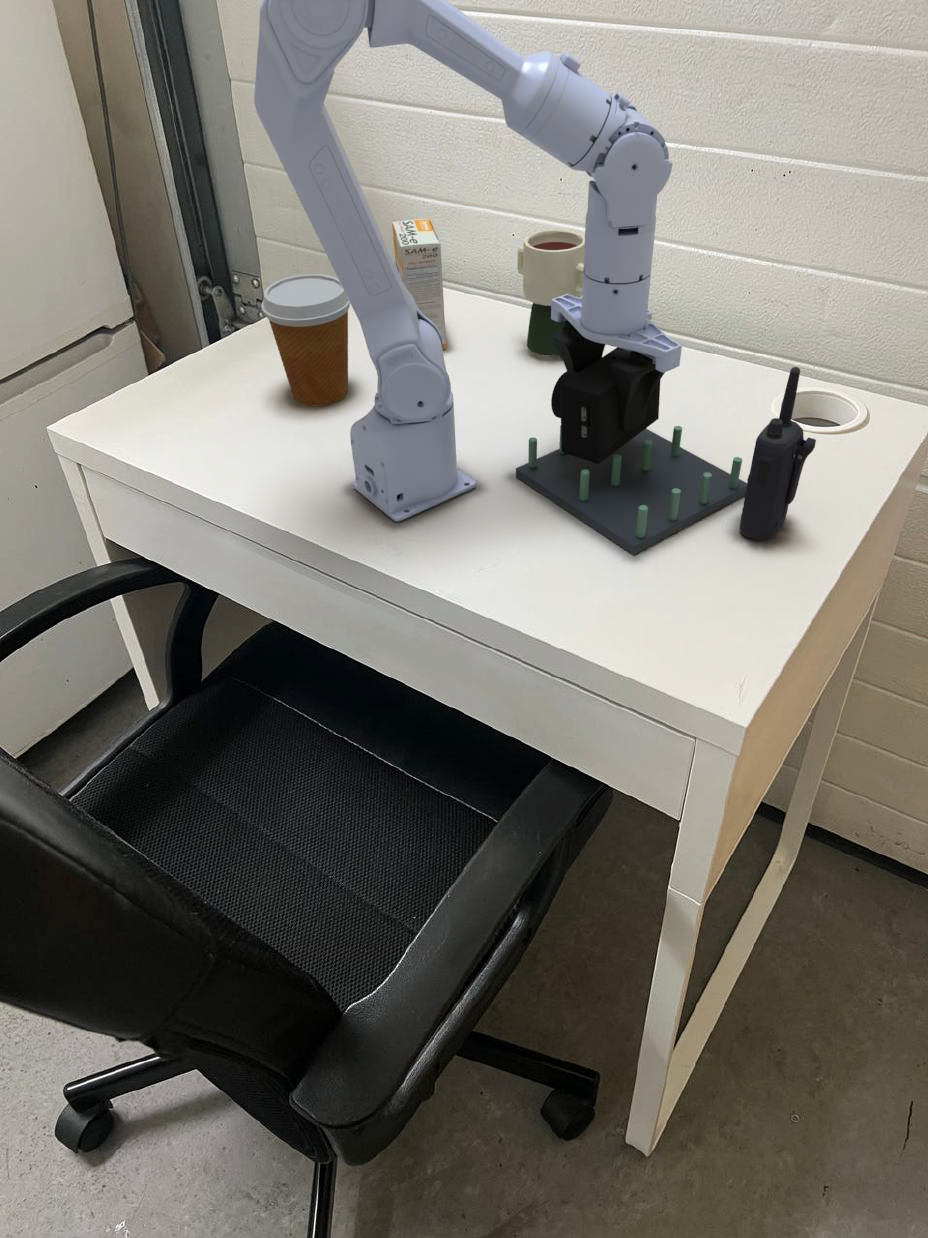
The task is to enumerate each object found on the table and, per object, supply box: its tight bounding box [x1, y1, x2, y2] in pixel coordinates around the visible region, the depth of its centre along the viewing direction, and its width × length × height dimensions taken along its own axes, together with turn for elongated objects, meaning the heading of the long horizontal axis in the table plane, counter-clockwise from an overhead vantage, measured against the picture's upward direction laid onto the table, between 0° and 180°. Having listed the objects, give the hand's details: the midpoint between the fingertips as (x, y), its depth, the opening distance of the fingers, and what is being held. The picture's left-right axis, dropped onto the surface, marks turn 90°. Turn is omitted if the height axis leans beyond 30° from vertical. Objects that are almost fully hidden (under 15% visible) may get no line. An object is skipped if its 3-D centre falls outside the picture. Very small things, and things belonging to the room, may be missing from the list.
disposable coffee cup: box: [260, 273, 351, 407], centre depth 102 cm, size 10×10×12 cm
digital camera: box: [550, 347, 662, 464], centre depth 87 cm, size 10×5×7 cm, turn 139°
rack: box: [515, 425, 748, 556], centre depth 89 cm, size 15×16×4 cm
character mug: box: [517, 228, 585, 356], centre depth 108 cm, size 11×7×13 cm, turn 46°
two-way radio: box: [739, 366, 817, 540], centre depth 79 cm, size 6×4×15 cm
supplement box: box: [391, 217, 447, 350], centre depth 112 cm, size 8×5×13 cm, turn 10°
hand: (607, 414), depth 88 cm, fingers closed on digital camera, 5 cm apart
